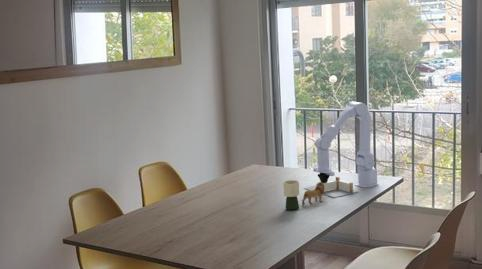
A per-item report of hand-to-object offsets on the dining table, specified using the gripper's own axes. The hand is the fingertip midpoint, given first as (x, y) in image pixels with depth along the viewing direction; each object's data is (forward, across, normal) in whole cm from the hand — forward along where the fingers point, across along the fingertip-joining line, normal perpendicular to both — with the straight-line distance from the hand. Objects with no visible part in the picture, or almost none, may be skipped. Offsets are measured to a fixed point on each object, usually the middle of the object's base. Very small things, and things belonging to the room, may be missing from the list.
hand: (324, 187), depth 306 cm
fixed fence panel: (+2, +6, +8) cm, 10 cm away
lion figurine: (+2, +12, -16) cm, 20 cm away
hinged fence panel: (+1, +1, +1) cm, 2 cm away
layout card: (+2, 0, +4) cm, 4 cm away
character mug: (+2, +14, -30) cm, 33 cm away
